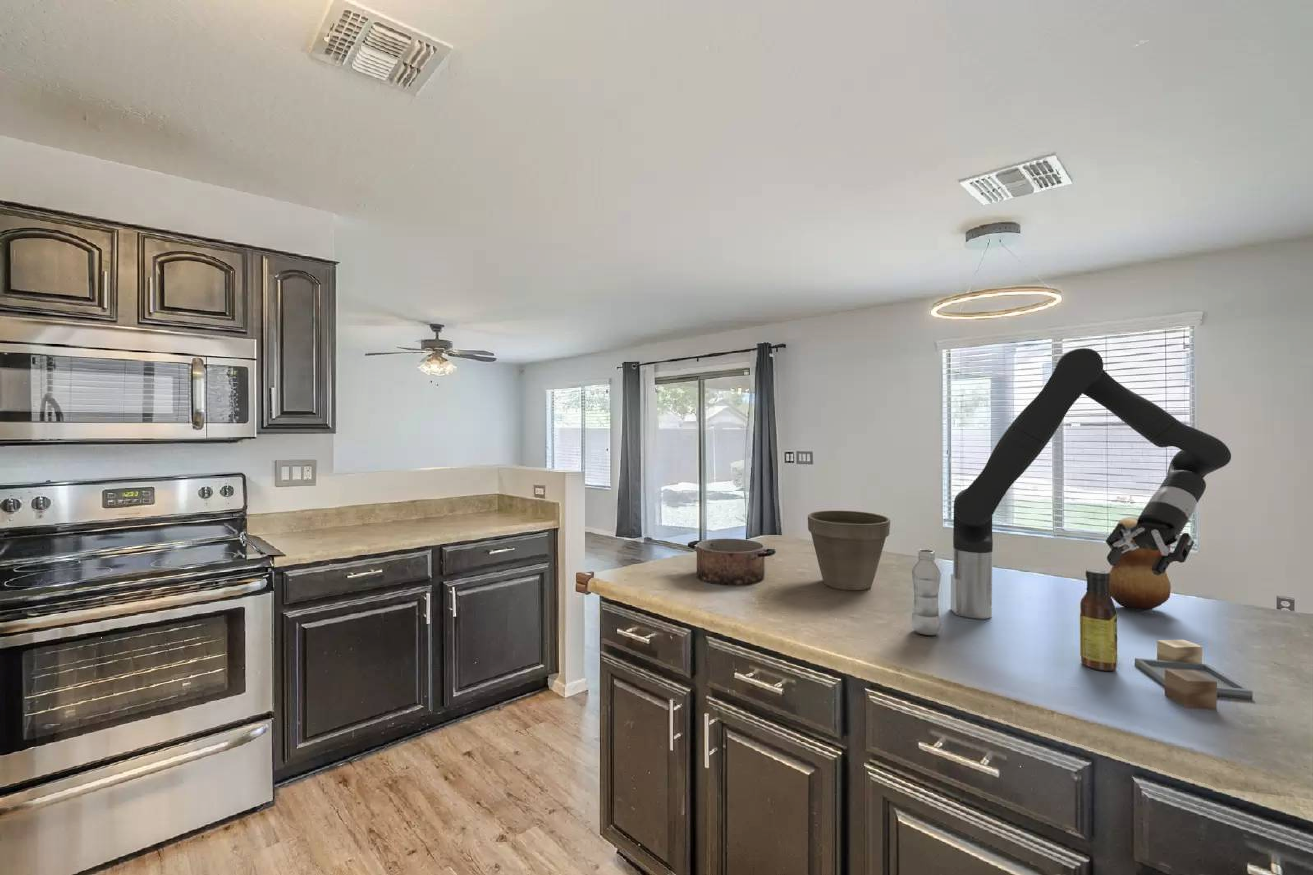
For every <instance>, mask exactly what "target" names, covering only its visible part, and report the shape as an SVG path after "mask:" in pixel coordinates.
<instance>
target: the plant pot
mask: <svg viewBox="0 0 1313 875" xmlns="http://www.w3.org/2000/svg"><path fill="white" fill-rule="evenodd" d="M807 530H808V532H809V533H811V539H812V543H813V547H814V550H815V555H816V558H817V559H816V560H817V562H818V567H819V572H820V574H821V577H822V580H823V583H824V585H826V586H828V587H830V588H833V589H837V590H843V591H864V590H868V589H870V588H871V587H872V586H873V584H874V580H875V577H876V573H877V570H878V567H879V564H880V563H879V562H880V561H881V558H882V557H881V556H882V552H883V549H884V546H885V542H886V539H887V537H889V535H890V530H891V519H890V518H889V517H887V516H885V515H881V514H876V513H872V512H865V511H857V510H856V511H855V510H818V511H813V512H810V513H809V514H808V515H807Z"/></svg>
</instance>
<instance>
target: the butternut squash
mask: <svg viewBox="0 0 1313 875" xmlns="http://www.w3.org/2000/svg"><path fill="white" fill-rule="evenodd" d="M1138 518H1139V516H1128V517H1124V518H1122V519H1120V520H1119V521H1118V523H1117V524H1116V526H1117V525H1118V524H1120V523H1122V524H1123V525H1124V526H1125V527H1130V528H1132V527H1134V526H1135V525H1136V524H1137V521H1138ZM1130 542H1131V544H1133V543H1135V542H1134V540H1133V539H1132V540H1131V541H1130ZM1125 545H1126V544H1125ZM1125 545H1123V546H1125ZM1123 546H1121V547H1123ZM1168 548H1169V550H1170V551H1171V545H1169V546H1168ZM1122 554H1123V555H1122V557H1121V558H1120V560H1119V561H1118V563H1117V565H1116V566H1112V567H1111V569H1110V571H1109V573H1110V580H1109V593H1110V595H1111V598H1112V600H1113V601H1115V602H1116V603H1117V604H1118V605H1119V606H1121V607H1123V608H1124V609H1128V610H1136V611H1142V612H1143V611H1152V610H1153V609H1156V608H1157V607H1160V606H1162V605H1163V604H1164V603H1166V602H1167V601H1168V599H1170V596H1171V590H1172V589H1171V588H1172V585H1171V581H1170V579H1169V577H1168V574H1167V572H1166V571H1165V572H1164V573H1163V574H1162V573H1161V574H1160V575H1155V574H1154V573H1153V572H1152V570H1151V568H1152V566H1153V564H1154V563H1155V561H1156V560H1157V558H1158V556H1162V554H1161V552H1160V550H1156V551H1154V550H1150V549H1142V548H1140V547H1139V548H1137V549H1135V550H1128V551H1126V552H1124V553H1122Z"/></svg>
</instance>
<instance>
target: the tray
mask: <svg viewBox="0 0 1313 875" xmlns="http://www.w3.org/2000/svg"><path fill="white" fill-rule="evenodd" d="M1134 666H1135V667H1137V668H1138V669H1139V670H1141V672H1143V673H1144V674H1146V675H1147V676H1149V677H1150V678H1151V679H1153V680H1154V681H1156V682H1157V683H1159V684H1160V685H1161V686H1163V687H1164V688H1165V669H1178V670H1195V671H1197V672H1199V673H1201V674H1203V675H1205V676H1207V677H1209V678H1211V679H1213V680H1215V681H1216V682H1217V697H1224V698H1235V699H1244V700H1253V696H1254V694H1253V693H1254V692H1253V690H1251V689H1250V688H1249V687H1246V686H1245V685H1243V684H1241V683H1240V682H1238V681H1236V680H1235V679H1233V678H1231V677H1229V676H1227V675H1226V674H1225V673H1223V672H1221V671H1219V670H1217V669H1216V668H1214V667H1213V666H1211V665H1209V664H1207V663H1202V664H1200V663H1187V662H1175V661H1163V660H1157V659H1150V658H1149V659H1148V658H1138V657H1136V658H1134Z"/></svg>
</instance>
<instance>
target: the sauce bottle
mask: <svg viewBox="0 0 1313 875" xmlns="http://www.w3.org/2000/svg"><path fill="white" fill-rule="evenodd" d="M1085 577H1086V588H1085V589H1086V593H1085V594H1084V595H1083V597H1082V598H1081V600H1080V605H1079V606H1080V610H1079V611H1080V613H1079V656H1080V662H1081V663H1082V665H1084V666H1085V667H1086V668H1090V669H1093V670H1097V671H1105V672H1106V671H1107V672H1112V671H1115V670H1116V669H1117V662H1118V610H1117V608H1116V606H1115V603H1114V600H1113V598H1112V597H1111V595H1110V593H1109V580H1110V571H1107V570H1103V569H1094V568H1092V569H1086V570H1085Z"/></svg>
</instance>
